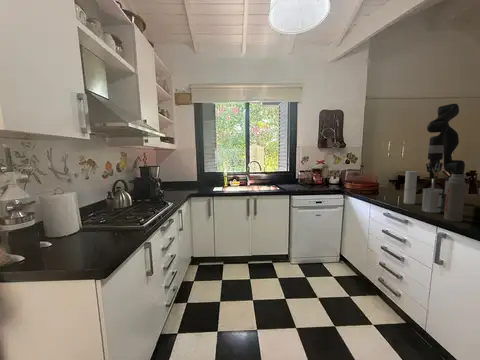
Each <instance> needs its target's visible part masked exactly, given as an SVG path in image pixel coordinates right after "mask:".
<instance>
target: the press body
mask: <svg viewBox="0 0 480 360" xmlns="http://www.w3.org/2000/svg"><path fill="white" fill-rule="evenodd" d="M431 188H432V187H427V188H421V189H422V190H421V191H422V200H421V201H422V203H421V211H423V212H424V213H432V214H439V213H441V210H445V201H446V194H444V192H443V191H444V189H441V188H434V190H432V189H431Z"/></svg>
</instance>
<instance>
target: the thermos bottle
mask: <svg viewBox="0 0 480 360" xmlns="http://www.w3.org/2000/svg"><path fill="white" fill-rule="evenodd" d="M449 177H450V176H449ZM466 189H467V182H466V179H465V177H464V175H463V173H461V172H451V177H450V178H449V181H448V182H447V189H446V201H445V209H444V213H443V214H444V215H443V219H444V220H446V221H451V222H463V219H464V218H463V217H464V206H465V205H464V204H465V197H466V196H465V195H466Z"/></svg>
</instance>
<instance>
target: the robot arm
mask: <svg viewBox="0 0 480 360" xmlns="http://www.w3.org/2000/svg"><path fill="white" fill-rule="evenodd" d="M459 112H460V106H459V105H458V103H449V104H446V105H441V106H439V107H438V108H437V117H436V119H434V120H431V121H430V122H429V123H428V124H427V125H426V130H427V132H428V133H431V134H432V133H433V134H435V133H436V134H437V133H438V134H437V135H434V136H431V137H429V144H428V150H427V151H428V152H427V160H429V163H426V164H425V165H426V172H427V173H429V175H428V176H429V177H428V179H431V180H432V179H433V178H434V172H438V175H437V177H435V179H438V178H439V173H440V172H441V171H442V169H444V171H445V172H448V173H452V172H461V173H463V176H464V174H465V168H466V163H465V161H464V160H461V159H453V153H454V152H455V150H456V149H457V147H458V146H459V145H460V144H459V143H460V138H459V133H458V132H457V131H456V130H455V129H454V128H453V127H452V126H451V125H450V124H449V122H450V121H451V120H453V119H454V118H455V117H457V116H458V115H459ZM442 160H443V162H441V161H442ZM450 177H451V176H446V177H445V182H444V192H443V193H444V194H446V189H447V182H448V181H449V178H450Z"/></svg>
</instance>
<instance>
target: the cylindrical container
mask: <svg viewBox="0 0 480 360" xmlns="http://www.w3.org/2000/svg"><path fill="white" fill-rule="evenodd" d="M404 181H405V182H404V191H403V192H404V193H403V203H404V204H408V205H415V204H416V195H417V193H416V192H417V181H418V171H416V170H406V171H405V177H404Z"/></svg>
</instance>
